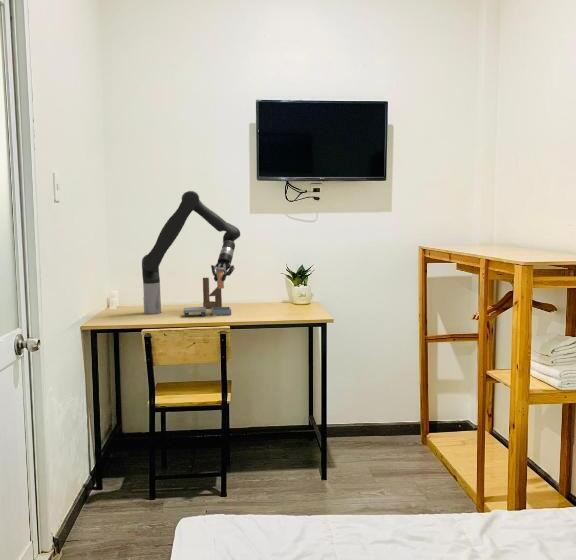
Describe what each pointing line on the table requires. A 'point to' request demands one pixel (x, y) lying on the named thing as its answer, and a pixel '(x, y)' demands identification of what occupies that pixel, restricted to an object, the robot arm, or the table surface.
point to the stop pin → (220, 278)
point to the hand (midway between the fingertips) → (219, 280)
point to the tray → (221, 311)
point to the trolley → (194, 310)
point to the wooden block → (216, 293)
